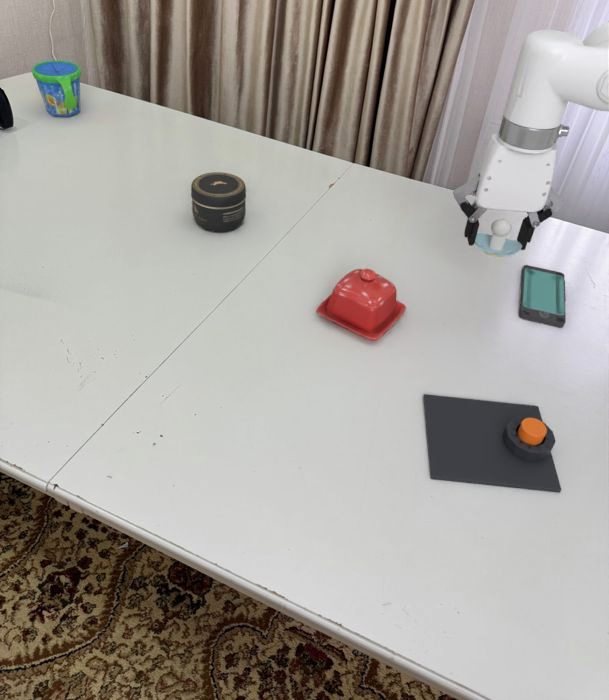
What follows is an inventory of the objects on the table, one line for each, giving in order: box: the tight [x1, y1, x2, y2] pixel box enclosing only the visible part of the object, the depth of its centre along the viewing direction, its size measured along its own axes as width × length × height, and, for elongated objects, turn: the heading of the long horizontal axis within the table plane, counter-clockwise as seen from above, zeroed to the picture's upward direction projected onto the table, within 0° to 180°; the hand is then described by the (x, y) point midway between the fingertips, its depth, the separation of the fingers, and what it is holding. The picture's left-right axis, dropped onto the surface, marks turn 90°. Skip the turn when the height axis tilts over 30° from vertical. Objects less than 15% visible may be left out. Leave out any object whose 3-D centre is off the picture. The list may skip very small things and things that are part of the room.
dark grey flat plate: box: [422, 393, 562, 494], centre depth 81 cm, size 16×14×2 cm
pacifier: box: [474, 218, 522, 258], centre depth 96 cm, size 7×6×6 cm
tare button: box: [518, 418, 547, 445], centre depth 80 cm, size 3×3×2 cm
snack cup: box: [31, 59, 82, 118], centre depth 146 cm, size 16×10×10 cm
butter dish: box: [316, 268, 407, 341], centre depth 97 cm, size 12×12×8 cm
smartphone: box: [518, 264, 567, 329], centre depth 106 cm, size 7×1×15 cm
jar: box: [190, 171, 247, 234], centre depth 115 cm, size 10×10×8 cm
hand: (495, 242), depth 97 cm, fingers closed on pacifier, 7 cm apart
